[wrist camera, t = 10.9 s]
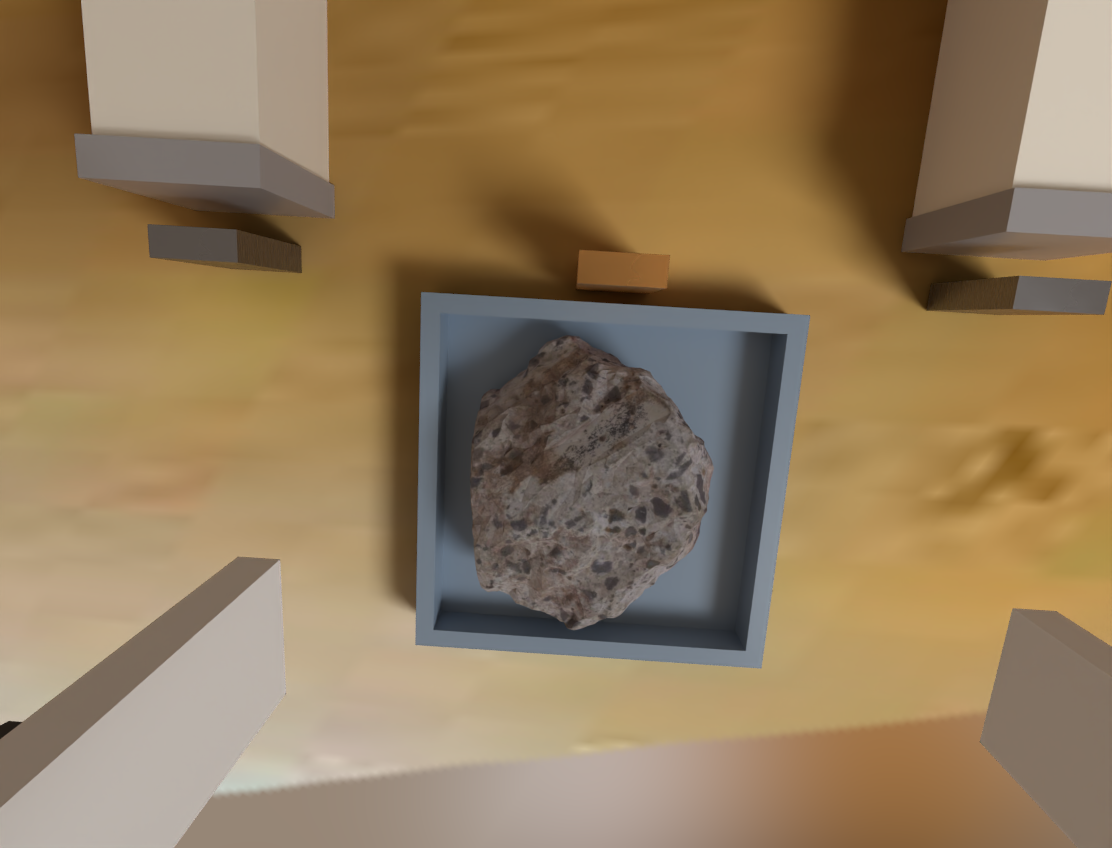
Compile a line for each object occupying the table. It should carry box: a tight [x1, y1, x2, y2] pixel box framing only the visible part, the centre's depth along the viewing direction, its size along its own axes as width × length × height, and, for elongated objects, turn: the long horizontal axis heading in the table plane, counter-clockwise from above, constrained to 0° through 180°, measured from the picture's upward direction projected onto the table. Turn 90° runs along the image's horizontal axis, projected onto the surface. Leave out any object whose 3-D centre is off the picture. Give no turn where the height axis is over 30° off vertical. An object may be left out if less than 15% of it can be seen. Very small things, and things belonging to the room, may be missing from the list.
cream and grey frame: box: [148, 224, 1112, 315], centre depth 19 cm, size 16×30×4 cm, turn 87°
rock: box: [470, 335, 714, 630], centre depth 21 cm, size 9×11×4 cm
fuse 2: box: [901, 0, 1112, 260], centre depth 18 cm, size 10×5×5 cm, turn 177°
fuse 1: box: [74, 0, 335, 219], centre depth 19 cm, size 10×5×5 cm, turn 177°
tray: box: [416, 292, 810, 668], centre depth 23 cm, size 14×14×2 cm
